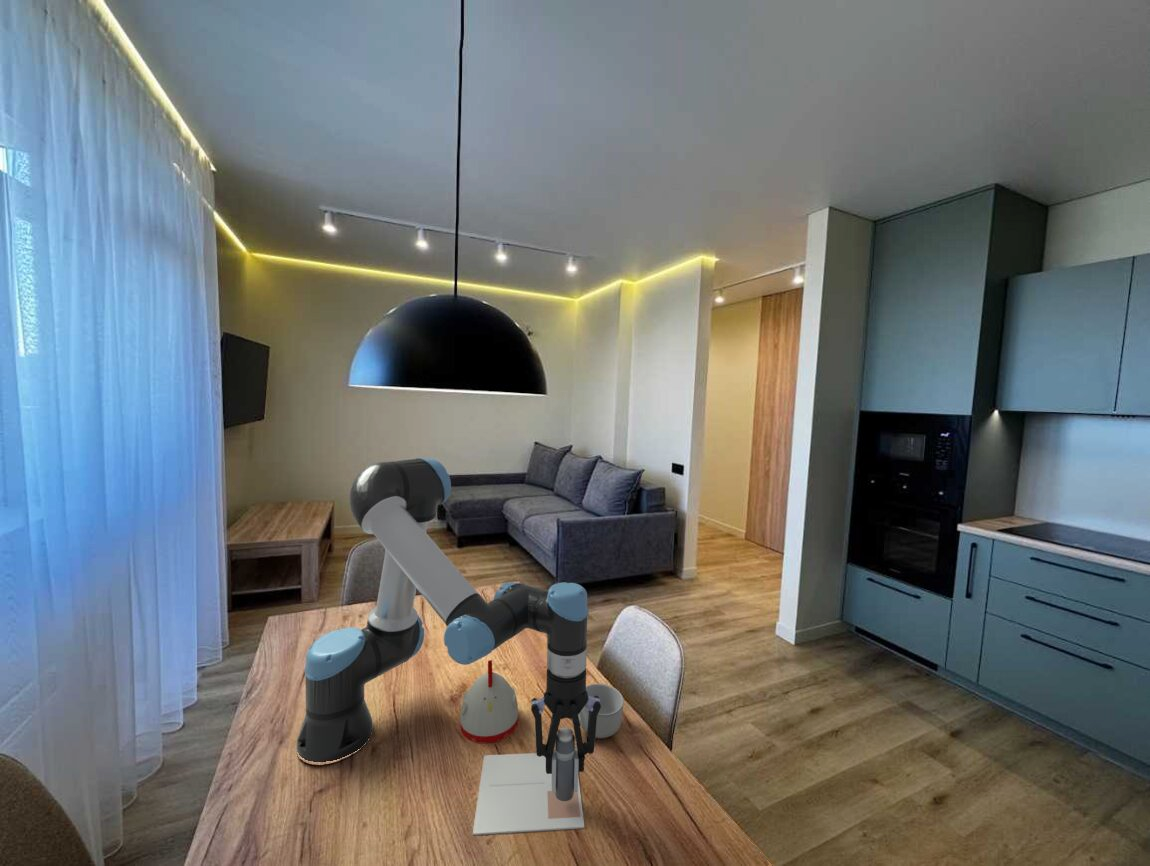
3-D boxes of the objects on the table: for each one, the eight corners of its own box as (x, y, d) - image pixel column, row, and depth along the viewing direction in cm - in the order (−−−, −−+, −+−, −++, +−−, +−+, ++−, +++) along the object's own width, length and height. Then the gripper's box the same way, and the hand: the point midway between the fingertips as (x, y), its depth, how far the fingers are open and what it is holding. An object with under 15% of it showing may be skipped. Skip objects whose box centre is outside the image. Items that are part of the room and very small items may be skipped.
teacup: (619, 714, 112) (620, 683, 111) (625, 746, 101) (626, 712, 101) (564, 714, 111) (564, 683, 111) (564, 746, 100) (565, 712, 100)
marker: (555, 802, 83) (556, 740, 83) (554, 785, 87) (555, 726, 86) (574, 801, 84) (576, 739, 83) (573, 784, 87) (574, 725, 87)
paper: (472, 835, 79) (472, 833, 79) (484, 756, 97) (484, 755, 97) (584, 828, 81) (584, 826, 81) (575, 752, 99) (575, 751, 99)
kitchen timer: (458, 747, 100) (459, 682, 99) (461, 707, 113) (461, 649, 112) (520, 738, 103) (521, 675, 102) (515, 700, 116) (516, 644, 115)
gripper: (521, 681, 80) (520, 806, 81) (613, 678, 81) (610, 801, 82) (523, 658, 87) (521, 773, 88) (606, 655, 89) (604, 768, 90)
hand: (564, 786), depth 85 cm, fingers closed on marker, 3 cm apart
